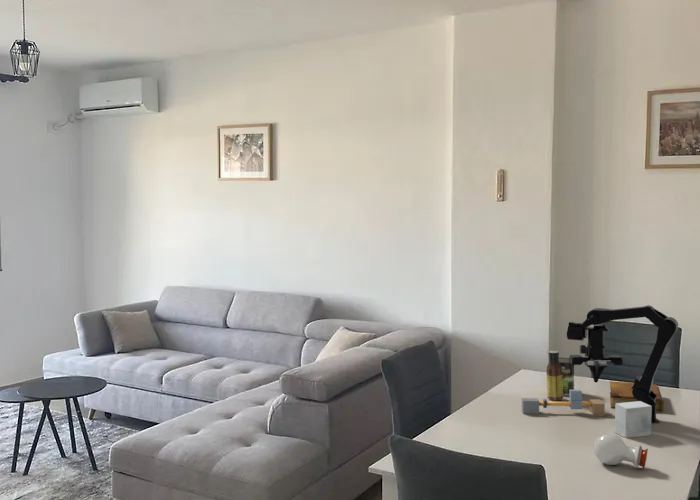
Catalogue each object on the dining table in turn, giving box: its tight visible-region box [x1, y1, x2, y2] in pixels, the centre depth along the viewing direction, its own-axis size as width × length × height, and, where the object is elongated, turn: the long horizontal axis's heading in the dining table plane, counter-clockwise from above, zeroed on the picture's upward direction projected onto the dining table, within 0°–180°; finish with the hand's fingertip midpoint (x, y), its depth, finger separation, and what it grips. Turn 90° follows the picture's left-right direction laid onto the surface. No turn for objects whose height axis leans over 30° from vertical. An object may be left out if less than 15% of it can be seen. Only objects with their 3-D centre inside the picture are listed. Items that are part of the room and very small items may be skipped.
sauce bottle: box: [546, 350, 564, 402], centre depth 279 cm, size 7×6×20 cm
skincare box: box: [613, 401, 652, 439], centre depth 235 cm, size 10×6×10 cm, turn 105°
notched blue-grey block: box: [568, 389, 583, 410], centre depth 260 cm, size 4×3×7 cm
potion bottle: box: [593, 433, 649, 470], centre depth 206 cm, size 9×10×15 cm
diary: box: [609, 380, 664, 413], centre depth 273 cm, size 23×19×6 cm
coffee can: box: [558, 356, 575, 396], centre depth 289 cm, size 10×10×14 cm
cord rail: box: [521, 397, 606, 417], centre depth 260 cm, size 30×6×5 cm, turn 84°
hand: (595, 382), depth 259 cm, fingers closed
